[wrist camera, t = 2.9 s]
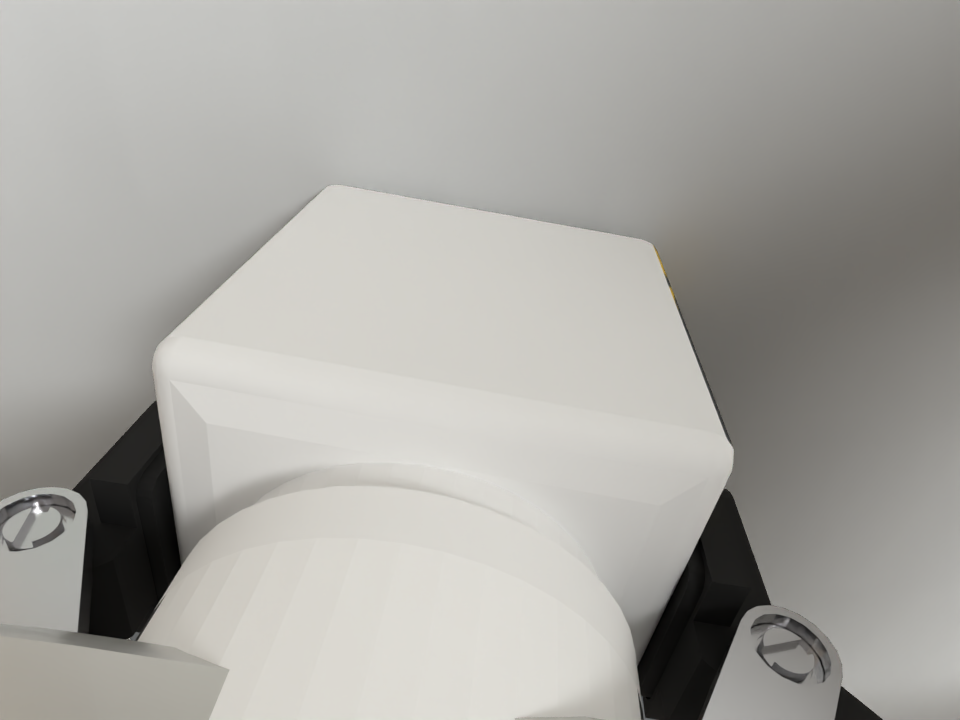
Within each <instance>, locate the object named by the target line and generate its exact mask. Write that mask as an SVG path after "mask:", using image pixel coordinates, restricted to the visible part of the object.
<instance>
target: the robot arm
mask: <svg viewBox="0 0 960 720" xmlns="http://www.w3.org/2000/svg"><path fill="white" fill-rule="evenodd" d="M180 568H181V561H180V555H179V548H178V541H177V534H176V528H175V521H174V514H173V507H172V501H171V494H170V487H169V480H168V474H167V467H166V460H165V453H164V447H163V440H162V433H161V426H160V420H159V413H158V406H157V400H156V401H155V402H154V403H153V404H152V405H151V406H150V407H149V408H148V409H147V410H146V411H145V412H144V413H143V414H142V415H141V417H140V418H139V419H138V420H137V421H136V422H135V423H134V424H133V425H132V426H131V427H130V428H129V429H128V431H127V432H126V433H125V434H124V435H123V436H122V437H121V438H120V439H119V440H118V441H117V442H116V443H115V445H114V446H113V447H112V448H111V449H110V450H109V451H108V452H107V453H106V454H105V455H104V456H103V457H102V459H101V460H100V461H99V462H98V463H97V464H96V465H95V466H94V467H93V468H92V469H91V470H90V471H89V473H88V474H87V475H86V476H85V477H84V478H83V479H82V480H81V481H80V482H79V483H78V484H77V485H76V487H75V488H74V489H73V490H70V489H67V488H59V487H44V488H35V489H31V490H27V491H23V492H19V493H17V494H15V495H12V496H10V497H8V498H5V499H3V500H1V501H0V720H209V718H210V716H211V713H212V711H213V709H214V706H215V704H216V701H217V699H218V696H219V694H220V692H221V689H222V687H223V684H224V682H225V680H226V677H227V675H228V672H229V669H226V668H224V667H221V666H218V665H216V664H213V663H211V662H209V661H206V660H204V659H201V658H199V657H196V656H194V655H191V654H188V653H186V652H184V651H181V650H179V649H177V648H175V647H170V646H164V645H158V644H152V643H145V642H139V641H132V640H126V639H128V638H130V637H132V636H133V635H134V634H135V632H138V633H140V632H141V630H142V629H143V627H144V625H145V624H146V622H147V621H148V619H149V617H150V616H151V614H152V613H153V611H154V609H155V608H156V606H157V605H158V603H159V601H160V600H161V598H162V597H163V595H164V593H165V592H166V590H167V589H168V587H169V585H170V584H171V582H172V581H173V579H174V577H175V576H176V574H177V573H178V571H179V569H180ZM637 670H638V678H639V686H640V694H641V696H642V697H643V705H644V713H645V718H650V719H656V720H883V719H881V718H880V717H879V716H878V715H876V714H875V713H874V712H873V711H871V710H870V709H869V708H868V707H867V706H865V705H864V704H863V703H862V702H860V701H859V700H858V699H857V698H855V697H854V696H853V695H852V694H850V693H849V692H848V691H847V690H846V689H844V688H843V687H842V686H841V683H842V678H843V675H842V663H841V660H840V658H839V655H838V653H837V650H836V649H835V647H834V646H833V645H832V643H831V642H830V640H829V639H828V637H827V636H826V635H825V634H824V633H823V632H822V631H821V630H820V629H819V628H818V627H816V626H815V625H814V624H813V623H811V622H810V621H808V620H807V619H805V618H804V617H803V616H801V615H799V614H797V613H795V612H792V611H790V610H788V609H786V608H782V607H777V606H772V605H771V603H770V600H769V598H768V595H767V592H766V589H765V586H764V583H763V581H762V578H761V575H760V572H759V569H758V566H757V564H756V561H755V558H754V555H753V552H752V549H751V547H750V544H749V541H748V538H747V535H746V532H745V530H744V527H743V524H742V521H741V518H740V515H739V513H738V510H737V507H736V504H735V501H734V498H733V497H732V495H731V493H730V492H729V491H728V490H727V489H723V491H722V493H721V495H720V497H719V499H718V501H717V503H716V505H715V507H714V509H713V511H712V513H711V515H710V518H709V520H708V522H707V524H706V526H705V528H704V530H703V532H702V534H701V536H700V538H699V540H698V542H697V544H696V546H695V548H694V551H693V553H692V555H691V557H690V559H689V561H688V563H687V565H686V567H685V569H684V571H683V573H682V575H681V577H680V579H679V581H678V584H677V586H676V588H675V590H674V592H673V594H672V596H671V598H670V600H669V602H668V604H667V606H666V608H665V610H664V612H663V614H662V616H661V619H660V621H659V623H658V625H657V627H656V629H655V631H654V633H653V635H652V637H651V639H650V641H649V643H648V645H647V647H646V649H645V652H644V654H643V656H642V658H641V660H640V662H639V664H638V666H637ZM515 720H603V719H597V718H591V717H586V716H578V717H528V718H515Z"/></svg>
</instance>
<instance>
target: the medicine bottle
mask: <svg viewBox="0 0 960 720" xmlns="http://www.w3.org/2000/svg"><path fill="white" fill-rule="evenodd" d="M152 372H153V379H154V386H155V392H156V399H157V406H158V413H159V420H160V426H161V433H162V440H163V447H164V453H165V460H166V467H167V474H168V480H169V487H170V494H171V501H172V507H173V514H174V521H175V528H176V534H177V541H178V548H179V555H180V561H181V568H180V569H179V571H178V573H177V574H176V576H175V577H174V579H173V581H172V582H171V584H170V585H169V587H168V589H167V590H166V592H165V593H164V595H163V597H162V598H161V600H160V601H159V603H158V605H157V606H156V608H155V609H154V611H153V613H152V614H151V616H150V617H149V619H148V621H147V622H146V624H145V625H144V627H143V629H142V630H141V632H140V633H139V635H138V637H137V638H136V640H135V641H139V642H145V643H152V644H158V645H164V646H170V647H175V648H177V649H179V650H181V651H184V652H186V653H188V654H191V655H194V656H196V657H199V658H201V659H204V660H206V661H209V662H211V663H213V664H216V665H218V666H221V667H224V668H226V669H229V672H228V675H227V677H226V680H225V682H224V684H223V687H222V689H221V692H220V694H219V696H218V699H217V701H216V704H215V706H214V709H213V711H212V713H211V716H210V718H209V720H515V718H528V717H578V716H586V717H591V718H597V719H603V720H644V717H643V709H642V701H641V694H640V686H639V678H638V670H637V666H638V664H639V662H640V660H641V658H642V656H643V654H644V652H645V649H646V647H647V645H648V643H649V641H650V639H651V637H652V635H653V633H654V631H655V629H656V627H657V625H658V623H659V621H660V619H661V616H662V614H663V612H664V610H665V608H666V606H667V604H668V602H669V600H670V598H671V596H672V594H673V592H674V590H675V588H676V586H677V584H678V581H679V579H680V577H681V575H682V573H683V571H684V569H685V567H686V565H687V563H688V561H689V559H690V557H691V555H692V553H693V551H694V548H695V546H696V544H697V542H698V540H699V538H700V536H701V534H702V532H703V530H704V528H705V526H706V524H707V522H708V520H709V518H710V515H711V513H712V511H713V509H714V507H715V505H716V503H717V501H718V499H719V497H720V495H721V493H722V491H723V489H724V487H725V485H726V482H727V480H728V478H729V476H730V474H731V472H732V467H733V457H734V448H733V446H732V443H731V440H730V438H729V435H728V433H727V430H726V428H725V425H724V422H723V420H722V417H721V415H720V412H719V409H718V407H717V404H716V402H715V399H714V397H713V394H712V391H711V389H710V386H709V384H708V381H707V379H706V376H705V373H704V371H703V368H702V366H701V363H700V360H699V358H698V355H697V353H696V350H695V348H694V345H693V342H692V340H691V337H690V335H689V332H688V329H687V327H686V324H685V322H684V319H683V317H682V314H681V311H680V309H679V306H678V304H677V301H676V299H675V296H674V293H673V291H672V288H671V286H670V283H669V280H668V278H667V275H666V273H665V270H664V268H663V265H662V262H661V260H660V257H659V255H658V252H657V250H656V249H655V247H654V245H653V244H651V243H649V242H647V241H645V240H643V239H638V238H632V237H627V236H621V235H616V234H610V233H605V232H599V231H594V230H588V229H583V228H577V227H572V226H566V225H561V224H555V223H549V222H544V221H538V220H533V219H527V218H522V217H516V216H511V215H505V214H500V213H494V212H489V211H483V210H478V209H472V208H466V207H461V206H455V205H450V204H444V203H439V202H433V201H428V200H422V199H417V198H411V197H406V196H400V195H395V194H389V193H383V192H378V191H372V190H367V189H361V188H356V187H350V186H345V185H329V186H327V187H326V188H325V189H323V190H322V191H321V192H320V193H319V194H318V195H317V196H316V197H315V198H314V199H313V200H312V201H310V202H309V203H308V204H307V205H306V206H305V207H304V208H303V209H302V210H301V211H300V212H299V213H298V214H297V215H296V216H294V217H293V218H292V219H291V220H290V221H289V222H288V223H287V224H286V225H285V226H284V227H283V228H282V229H281V230H280V231H279V232H277V233H276V234H275V235H274V236H273V237H272V238H271V239H270V240H269V241H268V242H267V243H266V244H265V245H264V246H263V247H261V248H260V249H259V250H258V251H257V252H256V253H255V254H254V255H253V256H252V257H251V258H250V259H249V260H248V261H247V262H246V263H244V264H243V265H242V266H241V267H240V268H239V269H238V270H237V271H236V272H235V273H234V274H233V275H232V276H231V277H230V278H228V279H227V280H226V281H225V282H224V283H223V284H222V285H221V286H220V287H219V288H218V289H217V290H216V291H215V292H214V293H213V294H211V295H210V296H209V297H208V298H207V299H206V300H205V301H204V302H203V303H202V304H201V305H200V306H199V307H198V308H197V309H195V310H194V311H193V312H192V313H191V314H190V315H189V316H188V317H187V318H186V319H185V320H184V321H183V322H182V323H181V324H180V325H178V326H177V327H176V328H175V329H174V330H173V331H172V332H171V333H170V334H169V335H168V336H167V337H166V338H165V339H164V340H162V341H161V342H160V343H159V344H158V346H157V348H156V350H155V353H154V355H153V361H152Z"/></svg>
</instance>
